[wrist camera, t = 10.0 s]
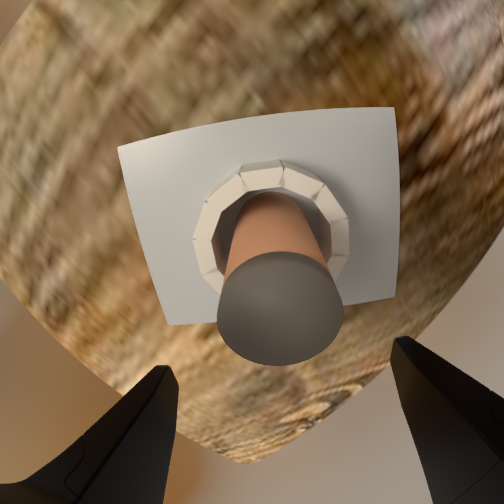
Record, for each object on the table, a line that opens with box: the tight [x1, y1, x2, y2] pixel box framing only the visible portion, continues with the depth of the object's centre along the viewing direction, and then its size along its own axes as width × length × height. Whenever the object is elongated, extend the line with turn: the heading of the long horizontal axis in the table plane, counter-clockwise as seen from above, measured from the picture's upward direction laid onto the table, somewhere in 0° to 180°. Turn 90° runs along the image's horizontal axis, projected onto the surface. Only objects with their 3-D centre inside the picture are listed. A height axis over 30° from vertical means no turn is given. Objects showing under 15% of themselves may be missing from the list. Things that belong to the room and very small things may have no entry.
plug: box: [217, 192, 344, 366], centre depth 15 cm, size 4×4×10 cm
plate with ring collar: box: [117, 107, 400, 325], centre depth 18 cm, size 18×14×4 cm
